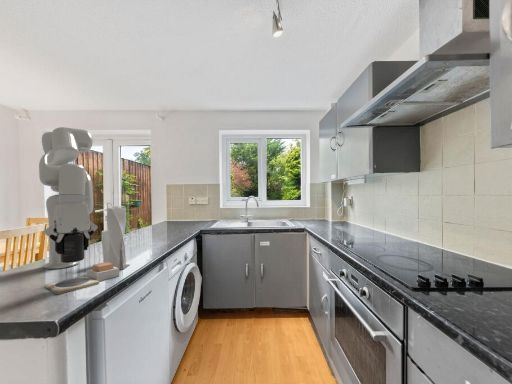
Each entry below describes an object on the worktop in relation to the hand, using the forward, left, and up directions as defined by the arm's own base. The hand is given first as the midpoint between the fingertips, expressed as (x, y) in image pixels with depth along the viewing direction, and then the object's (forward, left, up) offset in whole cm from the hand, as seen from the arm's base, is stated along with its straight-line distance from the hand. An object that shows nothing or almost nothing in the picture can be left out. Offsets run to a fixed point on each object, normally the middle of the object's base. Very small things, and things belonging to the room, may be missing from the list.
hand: (72, 251), depth 91 cm
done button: (-1, +11, -9) cm, 14 cm away
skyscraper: (-10, +20, -12) cm, 25 cm away
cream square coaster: (0, 0, -12) cm, 12 cm away
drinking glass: (-20, +22, -12) cm, 32 cm away
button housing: (-1, +11, -12) cm, 16 cm away
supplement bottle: (0, 0, -3) cm, 3 cm away
